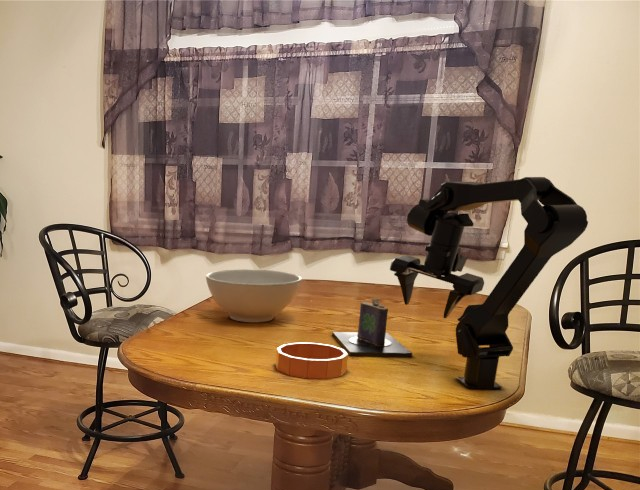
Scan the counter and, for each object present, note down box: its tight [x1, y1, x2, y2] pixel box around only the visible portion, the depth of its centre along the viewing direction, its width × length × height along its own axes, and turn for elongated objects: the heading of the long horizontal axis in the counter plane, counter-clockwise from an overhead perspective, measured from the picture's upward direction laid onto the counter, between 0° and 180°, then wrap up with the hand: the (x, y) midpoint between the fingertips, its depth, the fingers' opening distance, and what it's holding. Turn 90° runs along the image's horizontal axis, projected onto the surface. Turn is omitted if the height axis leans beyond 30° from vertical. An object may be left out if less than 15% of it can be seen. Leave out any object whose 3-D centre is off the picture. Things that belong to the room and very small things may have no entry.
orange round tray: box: [274, 342, 349, 380], centre depth 149 cm, size 15×15×4 cm
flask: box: [357, 297, 389, 346], centre depth 166 cm, size 9×3×11 cm, turn 17°
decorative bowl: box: [205, 268, 303, 323], centre depth 197 cm, size 27×27×12 cm
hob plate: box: [331, 331, 413, 358], centre depth 168 cm, size 20×14×1 cm
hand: (425, 310), depth 152 cm, fingers open, 9 cm apart
